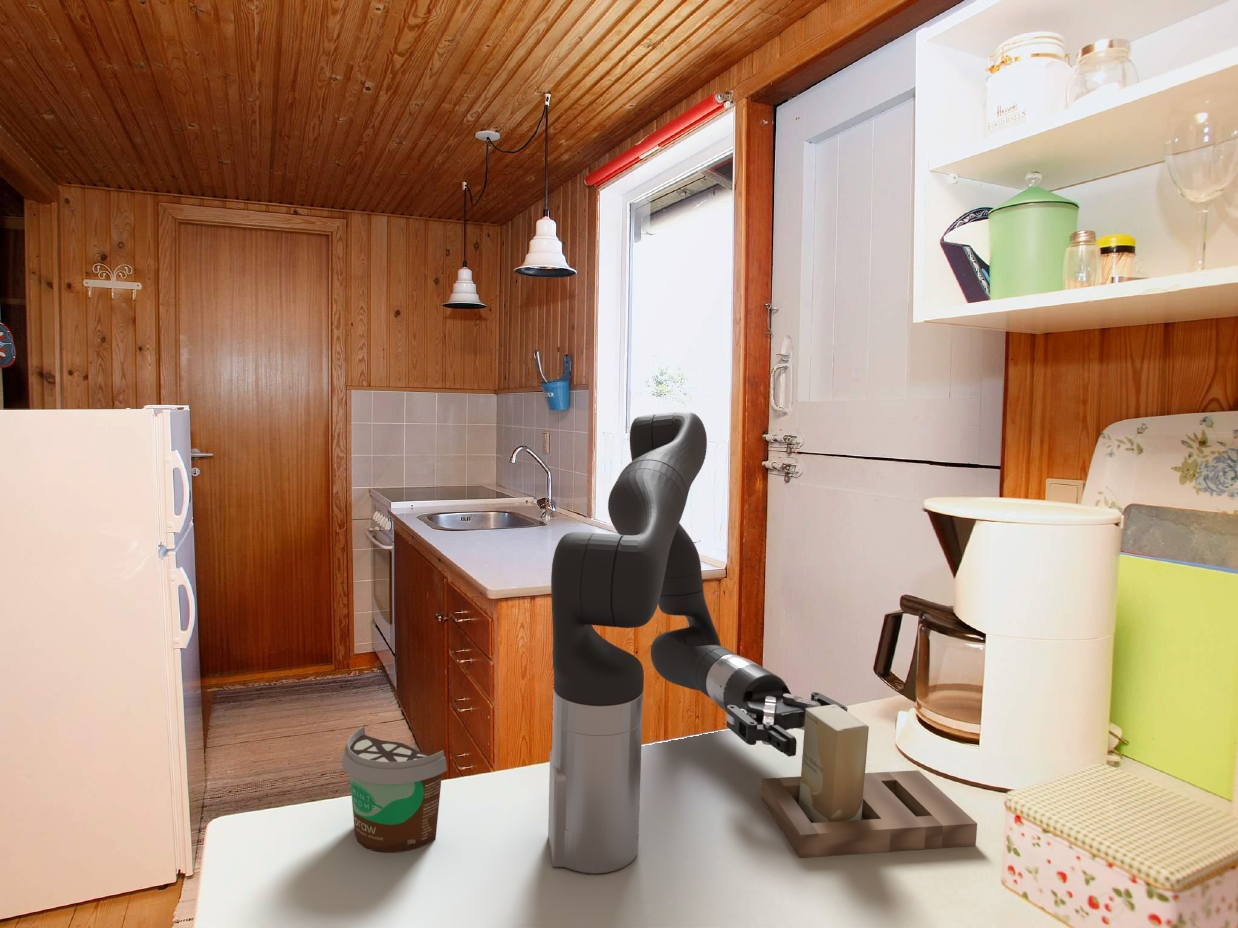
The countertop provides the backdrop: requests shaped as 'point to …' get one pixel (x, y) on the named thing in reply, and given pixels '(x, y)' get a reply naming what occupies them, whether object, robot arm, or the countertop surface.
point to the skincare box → (833, 765)
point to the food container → (393, 793)
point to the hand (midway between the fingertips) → (825, 742)
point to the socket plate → (874, 817)
